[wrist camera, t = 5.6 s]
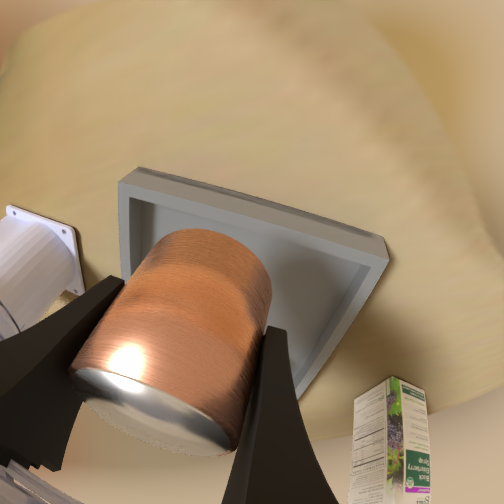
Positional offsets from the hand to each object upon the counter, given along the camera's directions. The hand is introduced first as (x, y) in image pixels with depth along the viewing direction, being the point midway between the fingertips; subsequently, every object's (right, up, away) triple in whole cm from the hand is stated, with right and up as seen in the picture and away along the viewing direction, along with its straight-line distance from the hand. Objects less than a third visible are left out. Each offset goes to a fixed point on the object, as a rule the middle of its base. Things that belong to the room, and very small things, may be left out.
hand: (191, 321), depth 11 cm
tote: (0, -2, +14) cm, 14 cm away
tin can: (0, +1, +2) cm, 2 cm away
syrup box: (+16, -12, +17) cm, 27 cm away
